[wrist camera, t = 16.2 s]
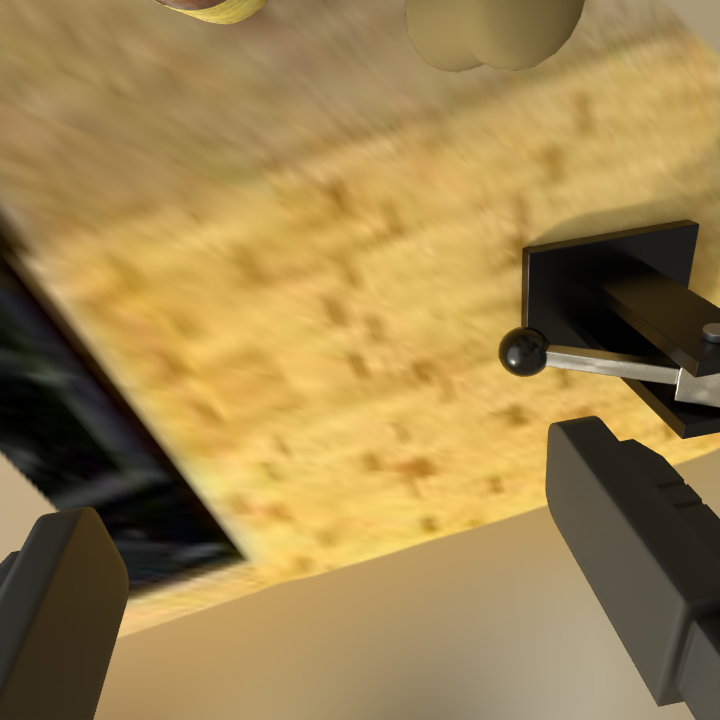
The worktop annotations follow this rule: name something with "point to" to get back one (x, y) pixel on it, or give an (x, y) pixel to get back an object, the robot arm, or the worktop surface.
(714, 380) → the lever
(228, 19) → the sauce bottle
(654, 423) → the worktop surface
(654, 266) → the bracket
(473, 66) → the cork
